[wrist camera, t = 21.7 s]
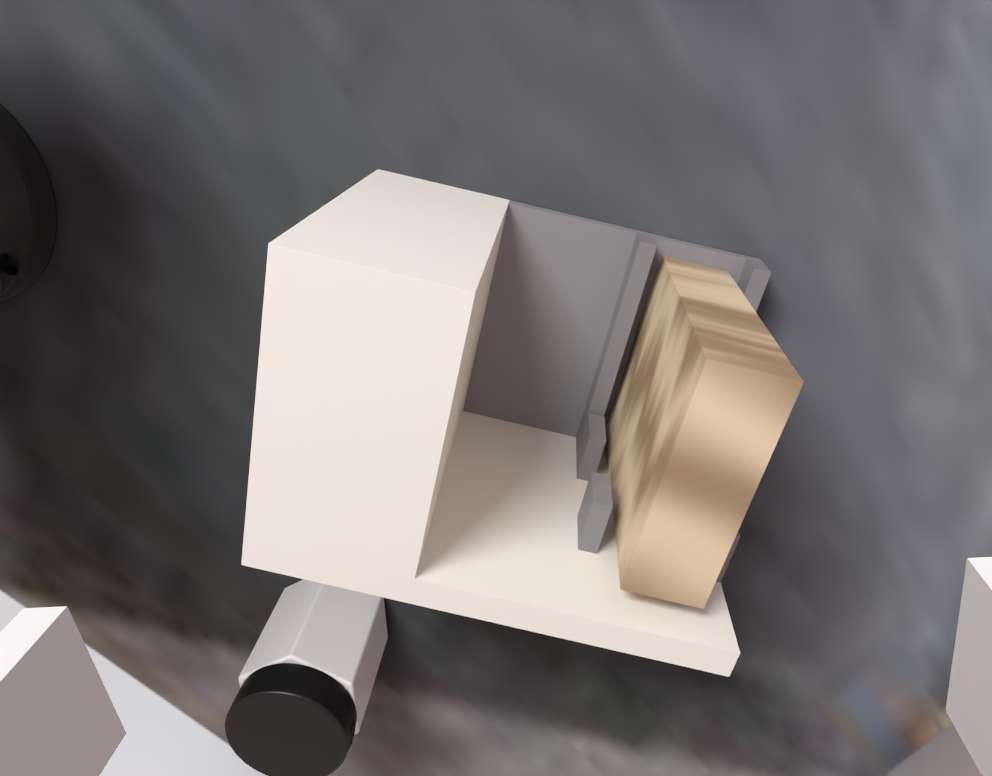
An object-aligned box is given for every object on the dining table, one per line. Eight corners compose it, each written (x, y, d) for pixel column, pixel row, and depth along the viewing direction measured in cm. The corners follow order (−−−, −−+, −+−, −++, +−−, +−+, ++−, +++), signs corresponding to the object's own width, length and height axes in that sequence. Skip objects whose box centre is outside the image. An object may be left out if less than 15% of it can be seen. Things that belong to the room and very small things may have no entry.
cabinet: (378, 169, 45) (268, 243, 28) (760, 259, 45) (868, 384, 29) (345, 398, 51) (241, 564, 35) (678, 475, 52) (729, 676, 35)
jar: (323, 666, 62) (270, 799, 51) (262, 595, 59) (193, 720, 48) (413, 628, 59) (378, 759, 49) (353, 552, 57) (302, 673, 46)
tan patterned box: (662, 255, 45) (706, 359, 30) (727, 271, 45) (803, 382, 30) (605, 429, 50) (620, 589, 35) (664, 443, 50) (703, 609, 35)
